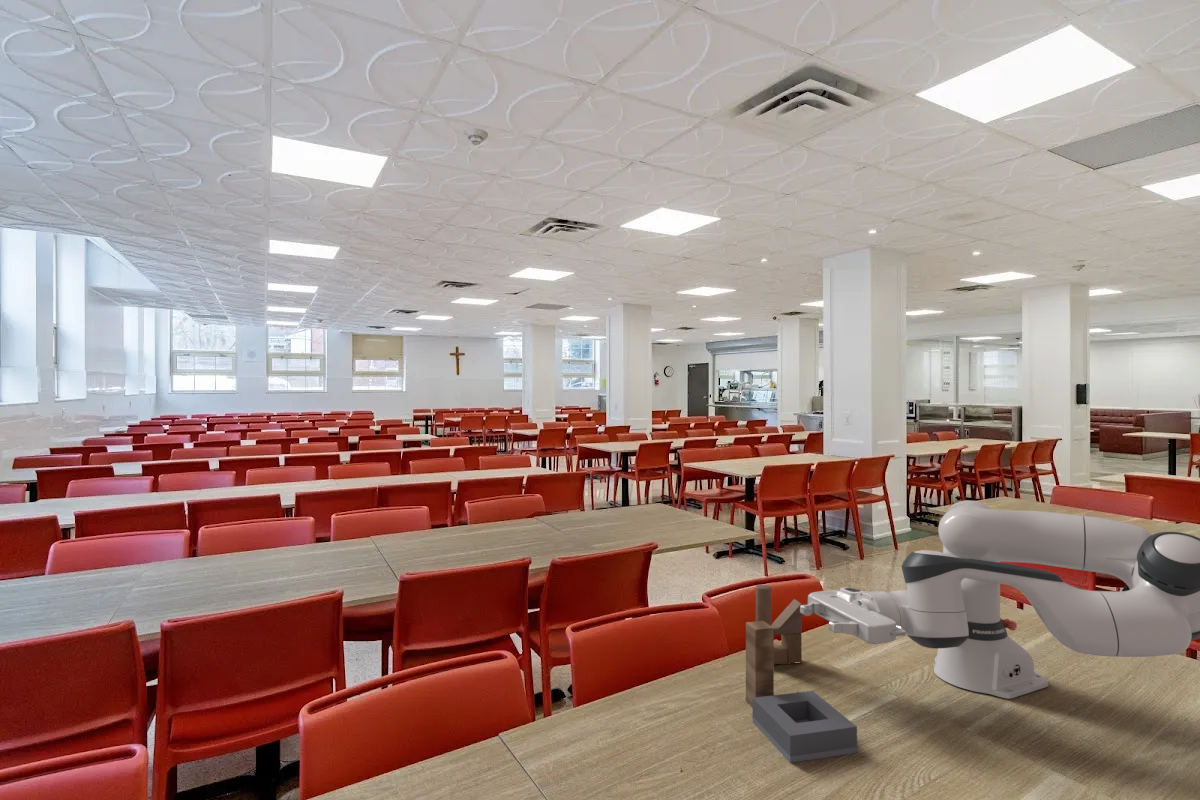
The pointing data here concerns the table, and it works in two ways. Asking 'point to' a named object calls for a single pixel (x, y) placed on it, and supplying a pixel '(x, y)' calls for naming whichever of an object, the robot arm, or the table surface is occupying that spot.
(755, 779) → the table surface
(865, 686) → the table surface
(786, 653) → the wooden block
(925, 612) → the robot arm
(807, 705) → the grey socket base
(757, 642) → the brown rectangular bar
